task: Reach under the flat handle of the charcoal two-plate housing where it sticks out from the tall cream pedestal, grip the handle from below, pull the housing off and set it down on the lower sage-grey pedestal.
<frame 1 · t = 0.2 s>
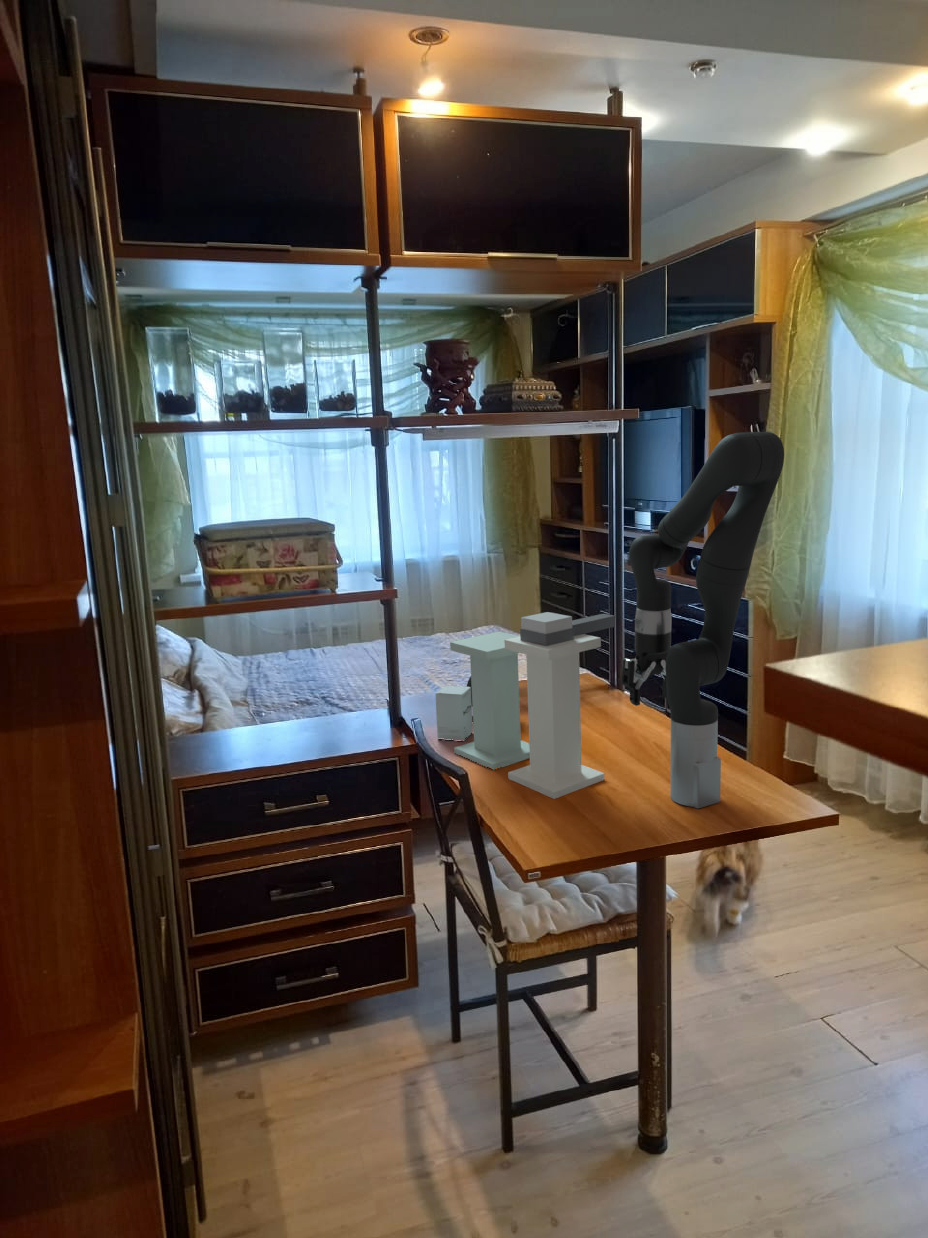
hand: (651, 701, 183), 17 cm above the table, tool pointing down, fingers open, 8 cm apart
supplement box: (455, 737, 218), on the table
tall pedestal: (555, 779, 188), on the table
low pedestal: (497, 753, 205), on the table
housing: (547, 639, 180), point 32 cm above the table, touching tall pedestal
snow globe: (491, 721, 230), on the table
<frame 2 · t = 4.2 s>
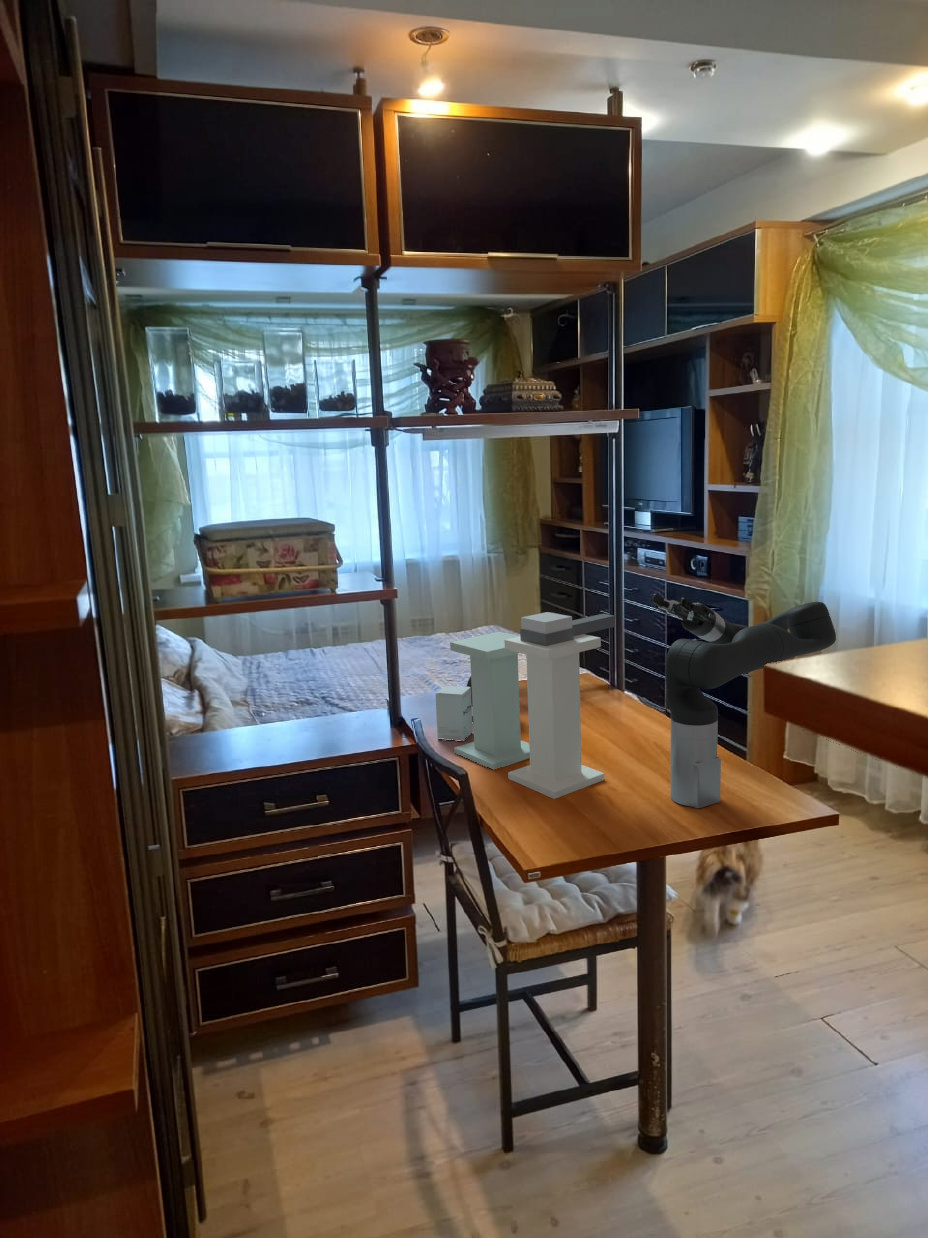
hand: (667, 599, 204), 35 cm above the table, tool pointing upward, fingers open, 8 cm apart
nothing on the table moved.
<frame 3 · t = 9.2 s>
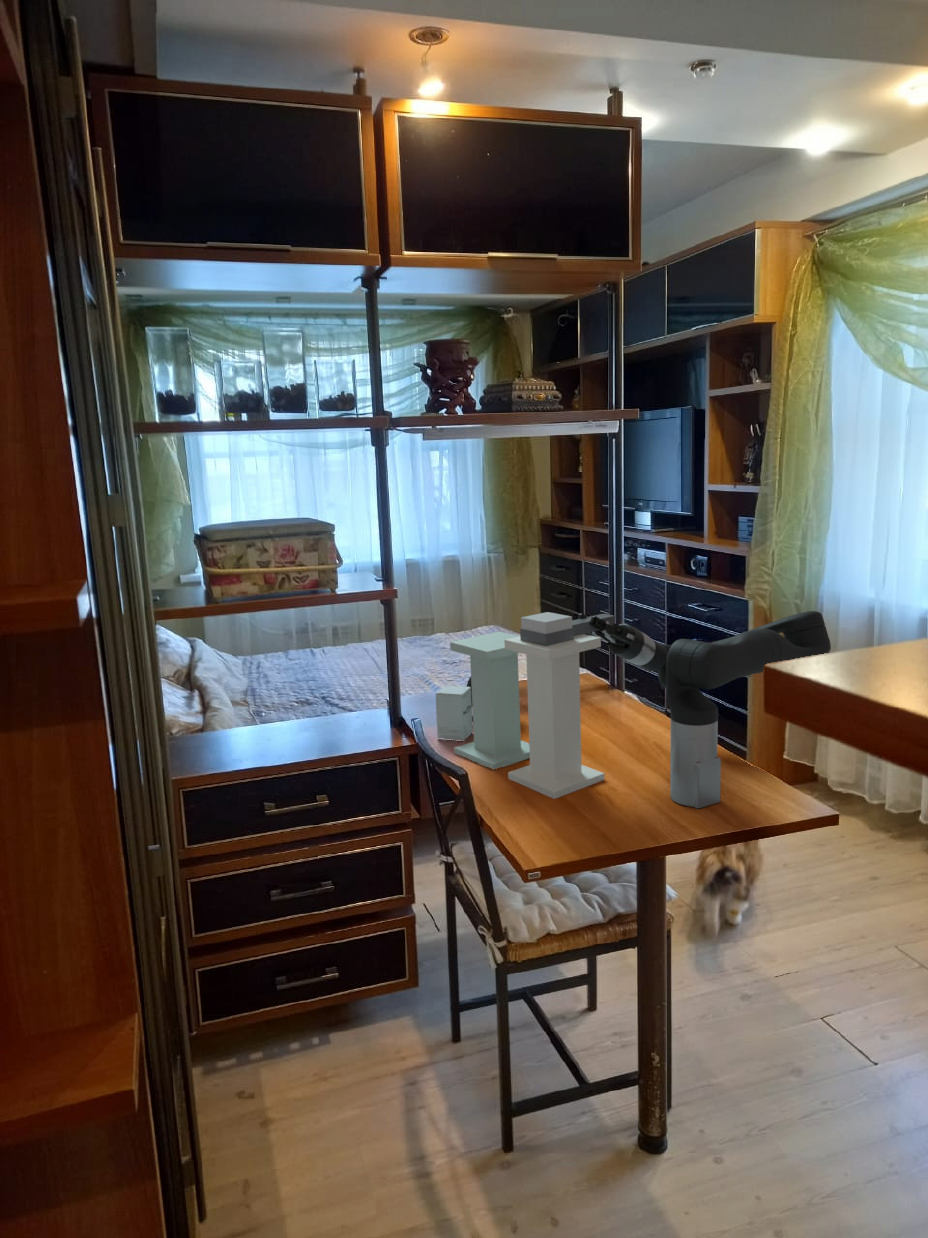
hand: (585, 619, 187), 35 cm above the table, tool pointing upward, fingers closed on housing, 3 cm apart
housing: (547, 640, 180), point 32 cm above the table, touching gripper, tall pedestal
everything else where it was.
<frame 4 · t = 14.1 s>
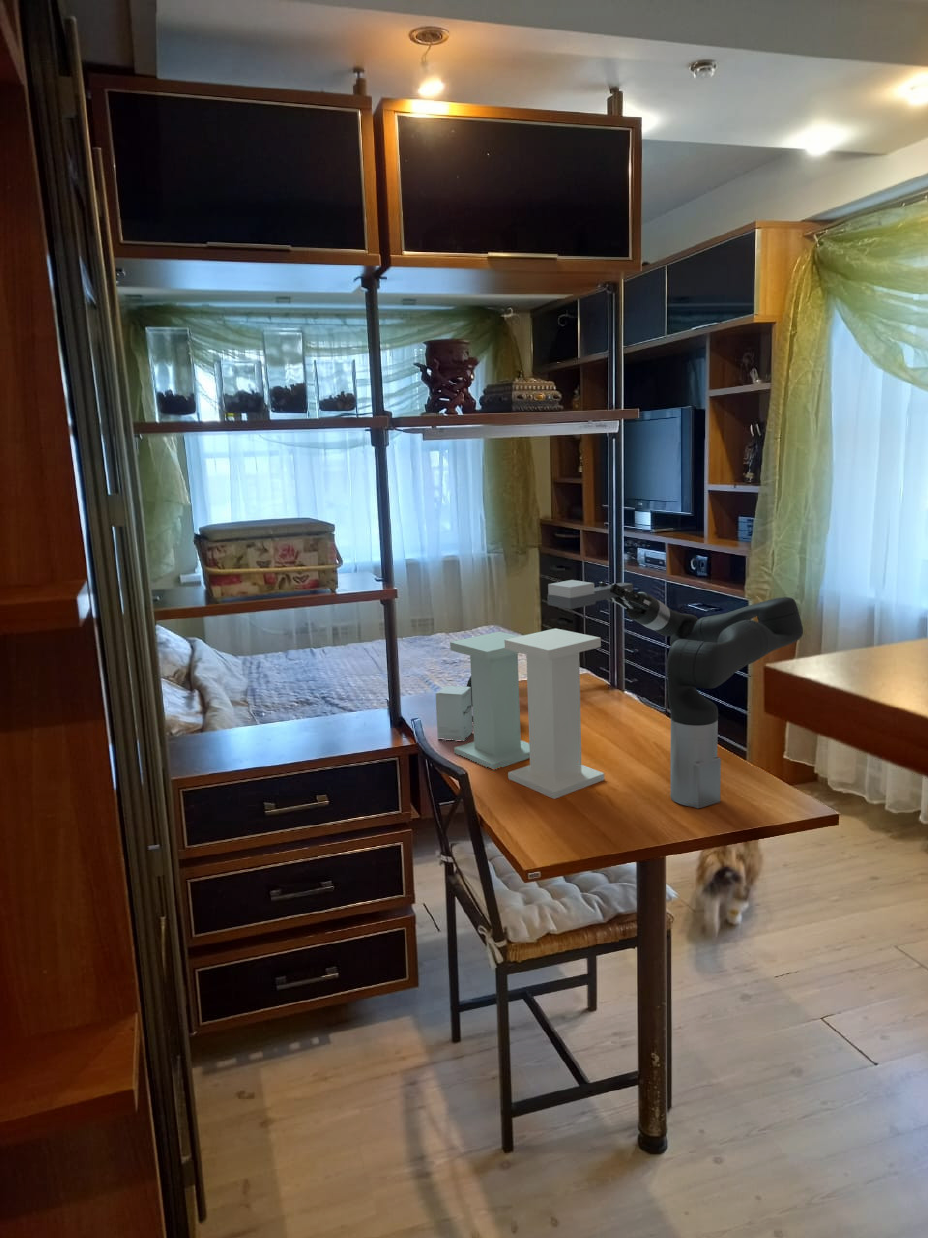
hand: (606, 586, 206), 38 cm above the table, tool pointing upward, fingers closed on housing, 3 cm apart
housing: (571, 604, 201), point 35 cm above the table, touching gripper
everything else where it was.
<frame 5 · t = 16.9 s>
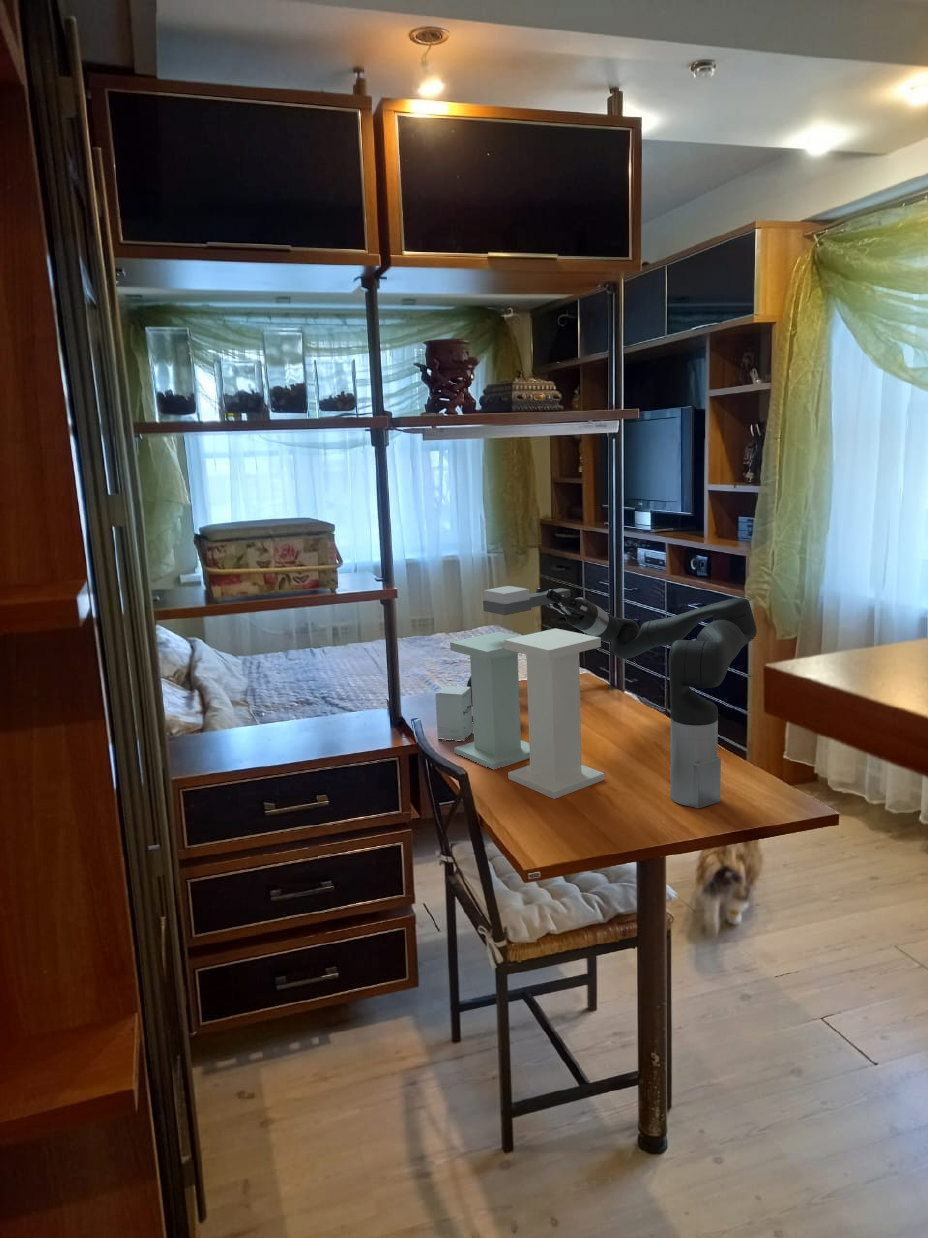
hand: (543, 592, 207), 37 cm above the table, tool pointing upward, fingers closed on housing, 3 cm apart
housing: (507, 610, 201), point 35 cm above the table, touching gripper
everything else where it was.
when the fingers open (32 cm above the table, at t = 19.5 s): housing drops 1 cm, resting on low pedestal.
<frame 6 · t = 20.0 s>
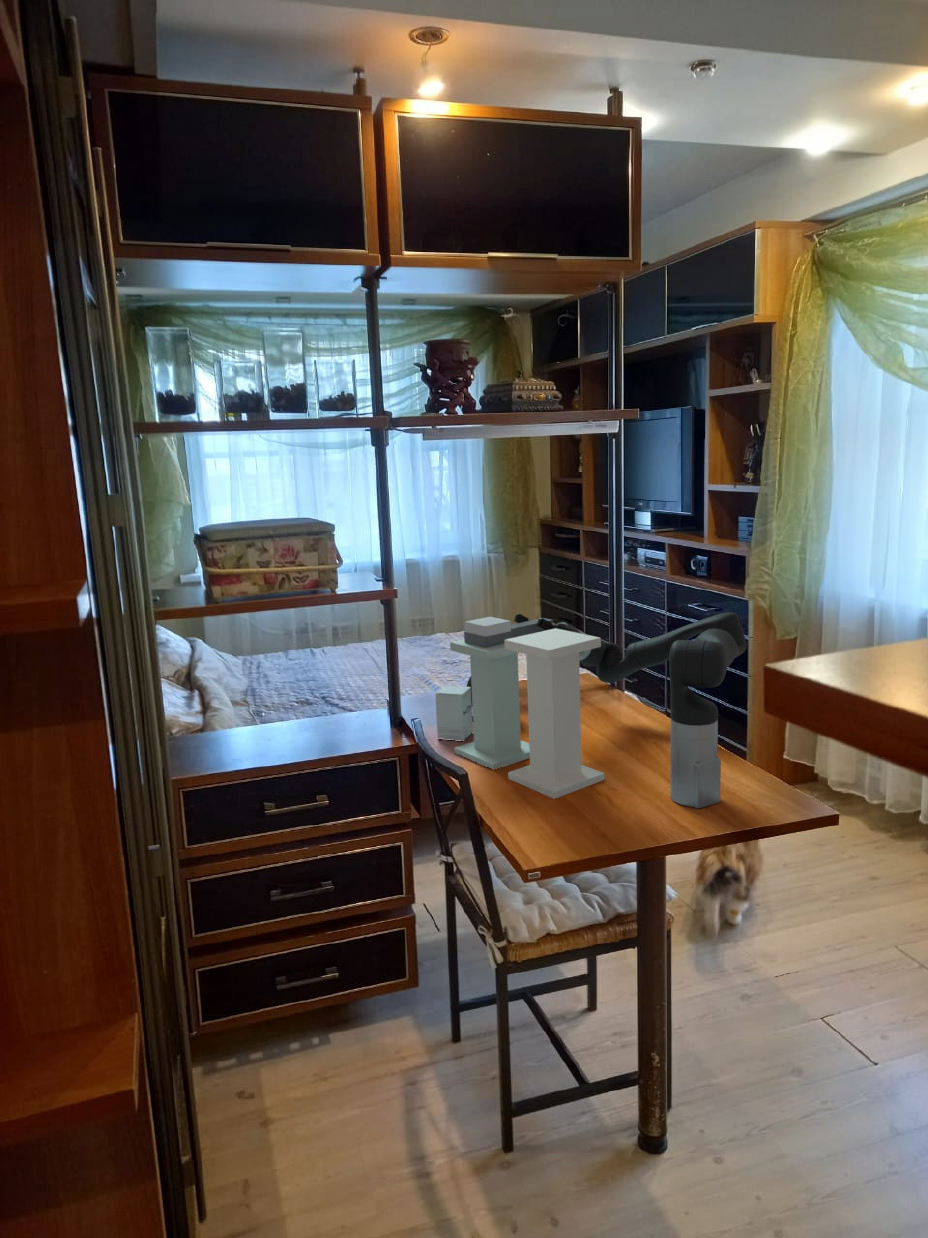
hand: (527, 619, 205), 31 cm above the table, tool pointing upward, fingers open, 8 cm apart
housing: (488, 642, 198), point 28 cm above the table, touching low pedestal
everything else where it was.
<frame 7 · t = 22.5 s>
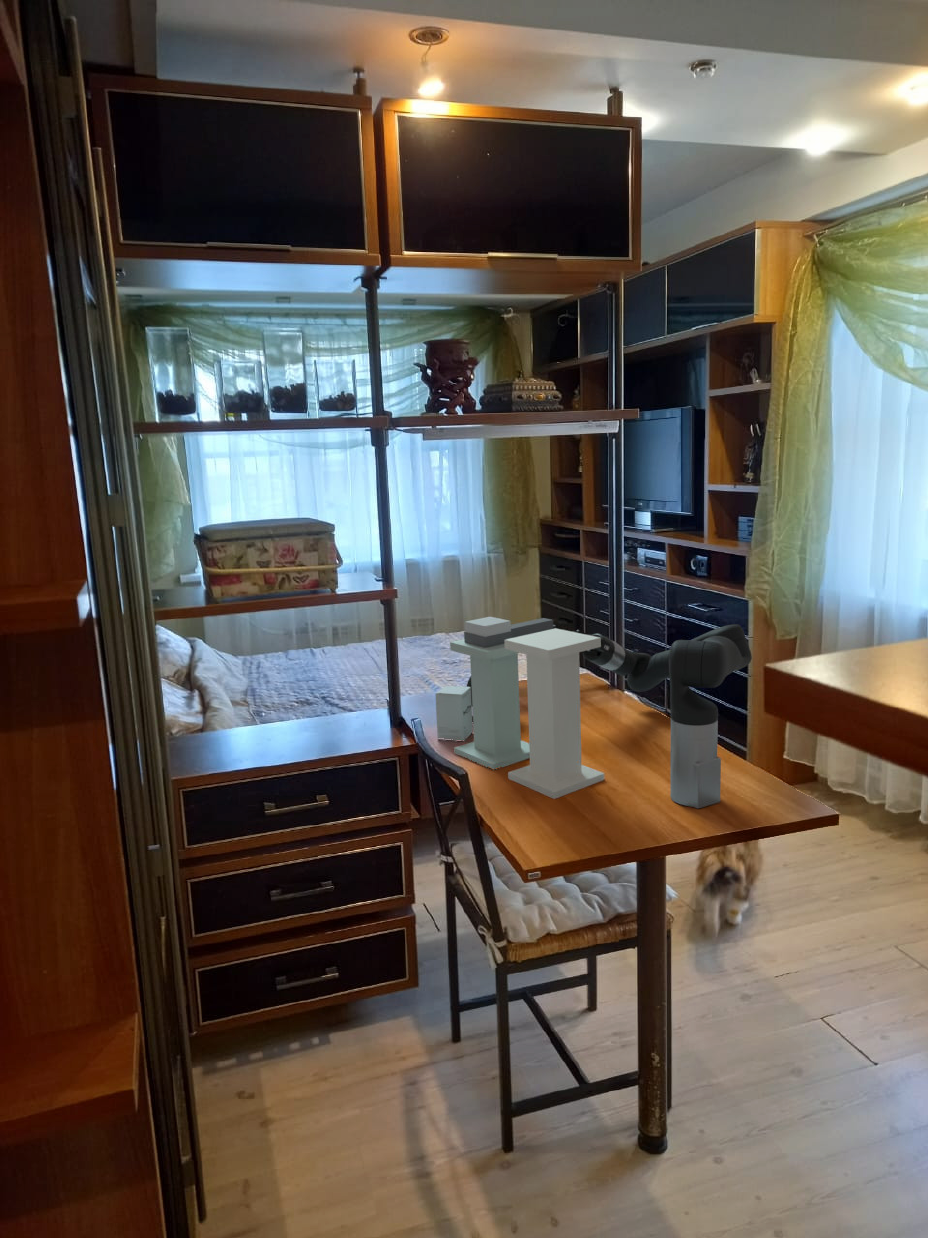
hand: (564, 631, 213), 27 cm above the table, tool pointing upward, fingers open, 8 cm apart
nothing on the table moved.
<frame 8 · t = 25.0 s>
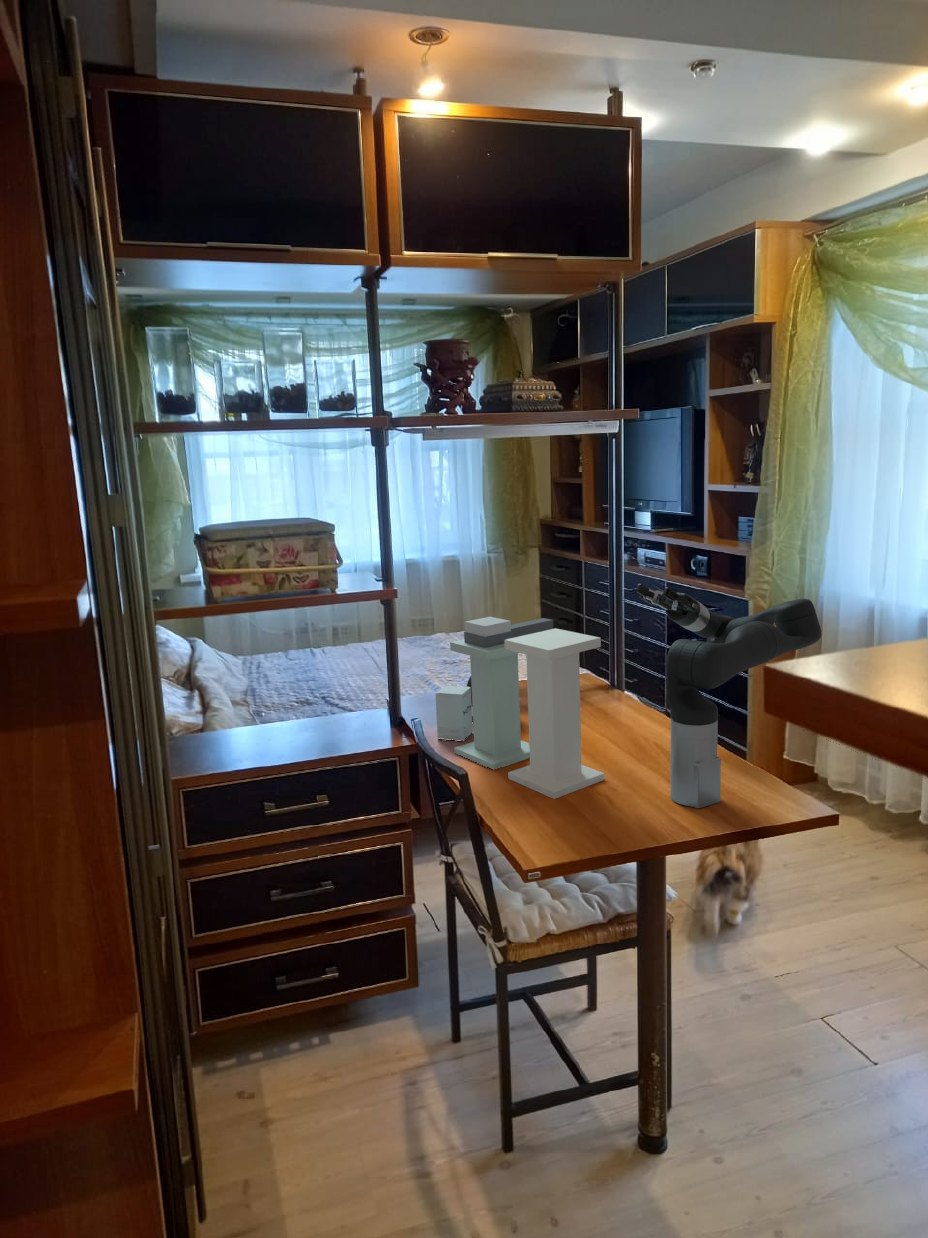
hand: (651, 589, 206), 37 cm above the table, tool pointing upward, fingers open, 8 cm apart
nothing on the table moved.
at the end: housing inside the target area on the low pedestal (0.1 cm from its centre), point 28.0 cm above the low pedestal's base; housing tilted 0°; the gripper is holding nothing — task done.
